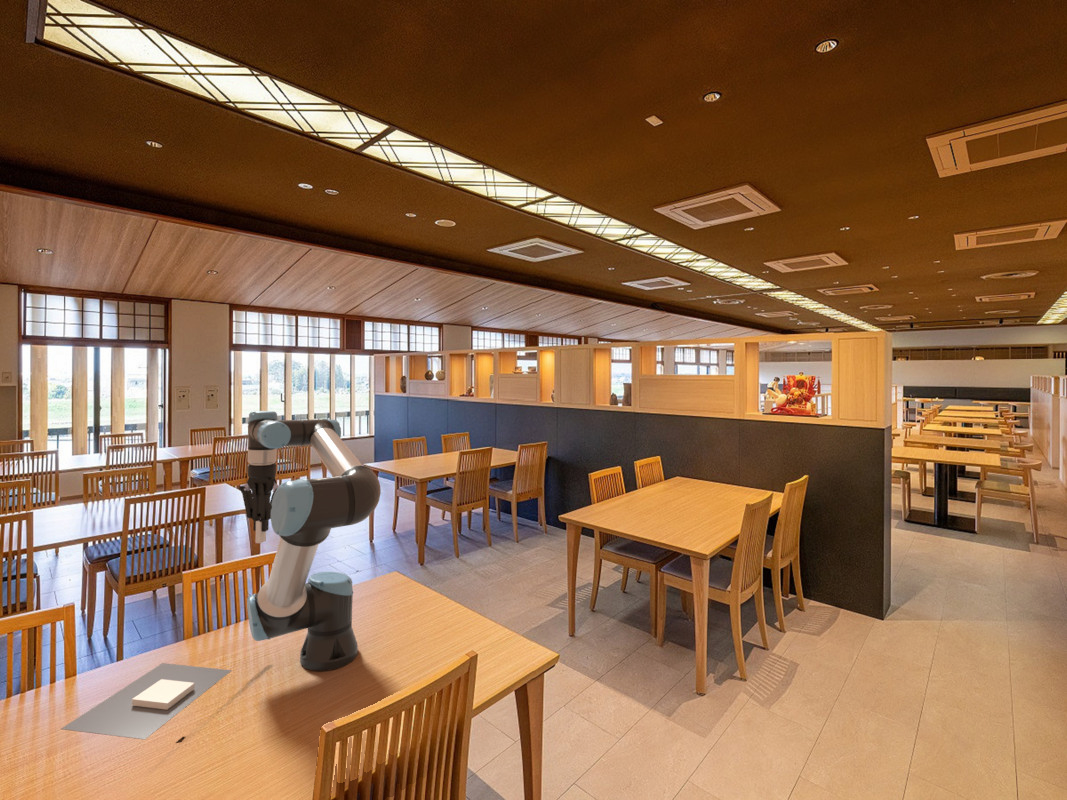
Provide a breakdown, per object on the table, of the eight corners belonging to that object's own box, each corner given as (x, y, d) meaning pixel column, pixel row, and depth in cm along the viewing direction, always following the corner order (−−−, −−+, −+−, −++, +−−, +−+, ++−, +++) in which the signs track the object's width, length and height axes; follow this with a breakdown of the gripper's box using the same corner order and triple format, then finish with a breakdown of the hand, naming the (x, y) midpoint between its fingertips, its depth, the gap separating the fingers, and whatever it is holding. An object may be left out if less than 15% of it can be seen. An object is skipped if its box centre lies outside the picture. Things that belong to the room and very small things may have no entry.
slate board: (231, 674, 132) (231, 670, 132) (144, 744, 106) (144, 739, 106) (162, 667, 134) (162, 662, 134) (60, 734, 109) (60, 728, 109)
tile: (161, 685, 125) (194, 689, 124) (131, 706, 117) (167, 710, 116) (161, 679, 124) (194, 682, 123) (132, 699, 117) (167, 703, 116)
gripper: (290, 462, 152) (288, 539, 153) (250, 460, 153) (248, 536, 154) (274, 466, 145) (273, 547, 145) (232, 463, 146) (231, 544, 147)
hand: (260, 541), depth 150 cm, fingers closed
